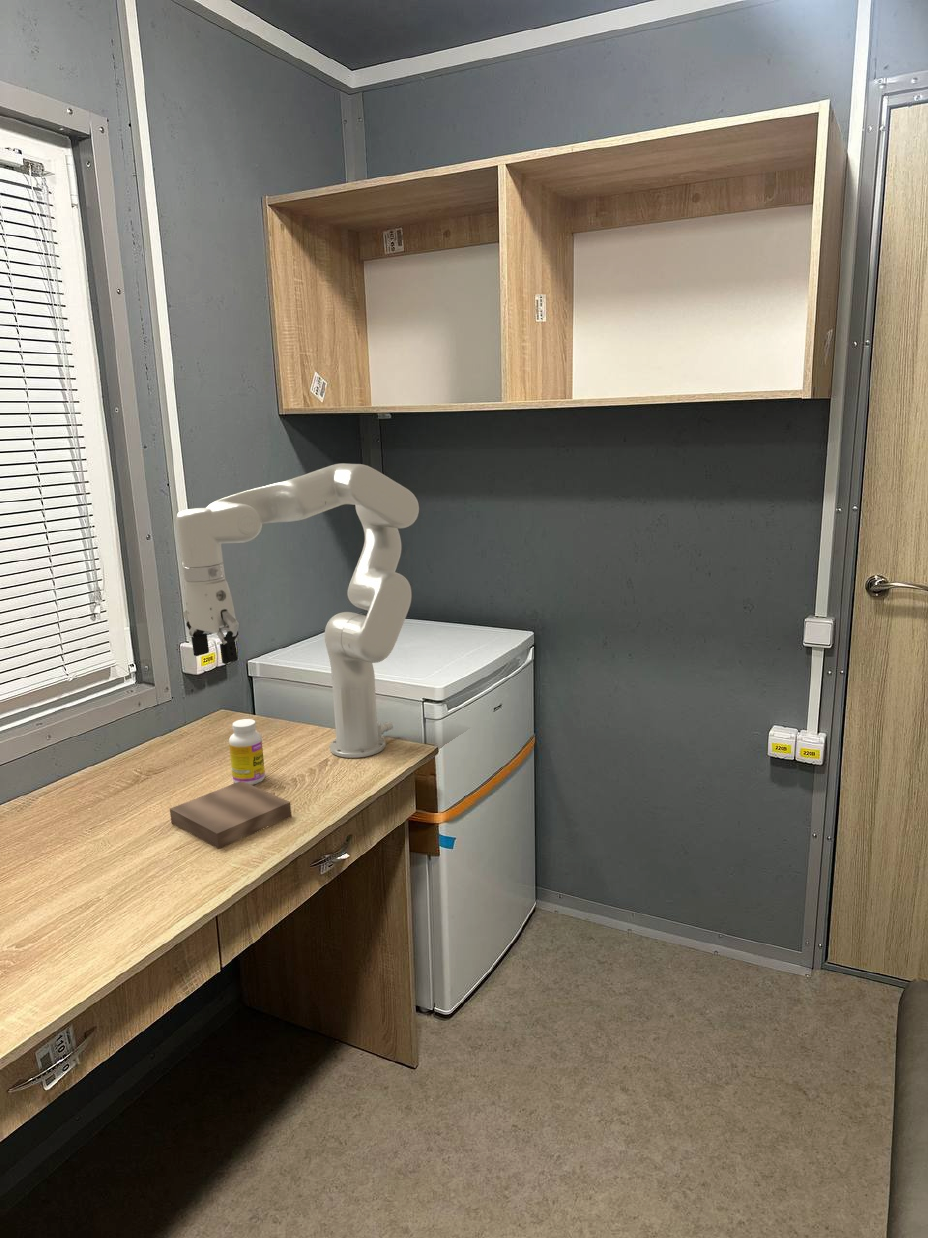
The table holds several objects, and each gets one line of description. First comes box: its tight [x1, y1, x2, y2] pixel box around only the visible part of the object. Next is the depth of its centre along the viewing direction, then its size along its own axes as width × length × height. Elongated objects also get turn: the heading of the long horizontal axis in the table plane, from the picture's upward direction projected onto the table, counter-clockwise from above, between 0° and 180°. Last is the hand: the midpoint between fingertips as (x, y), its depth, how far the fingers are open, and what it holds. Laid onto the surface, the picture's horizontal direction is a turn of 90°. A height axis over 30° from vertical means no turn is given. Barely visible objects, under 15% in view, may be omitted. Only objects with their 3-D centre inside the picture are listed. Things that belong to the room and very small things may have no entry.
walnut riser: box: [169, 781, 292, 850], centre depth 166 cm, size 16×16×3 cm
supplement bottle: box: [228, 718, 266, 786], centre depth 182 cm, size 7×7×13 cm
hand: (215, 658), depth 172 cm, fingers open, 9 cm apart
